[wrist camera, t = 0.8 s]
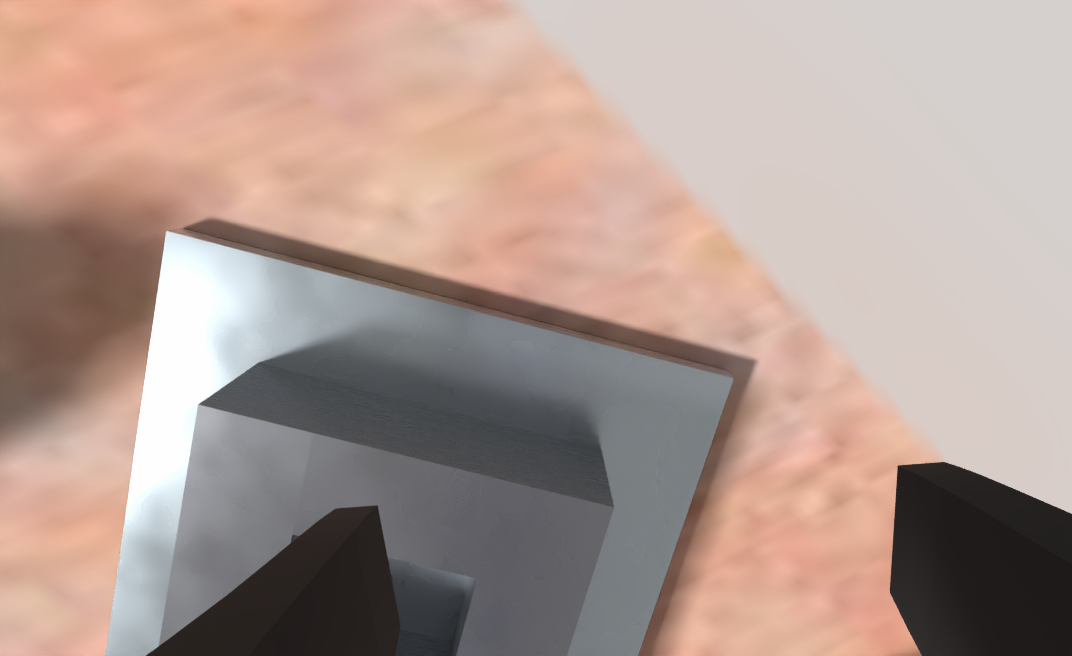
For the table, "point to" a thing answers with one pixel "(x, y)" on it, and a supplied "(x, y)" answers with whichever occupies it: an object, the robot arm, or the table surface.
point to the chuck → (405, 455)
